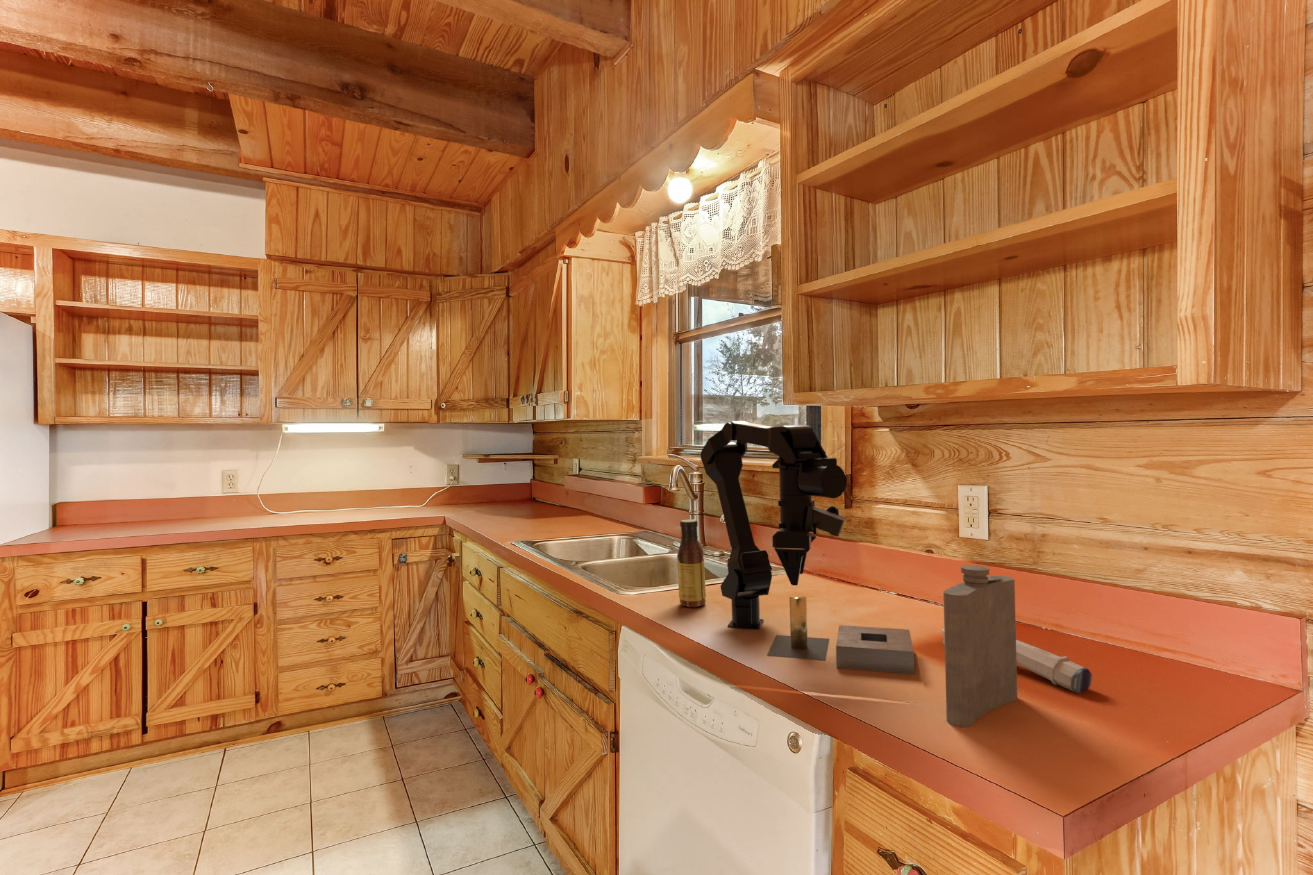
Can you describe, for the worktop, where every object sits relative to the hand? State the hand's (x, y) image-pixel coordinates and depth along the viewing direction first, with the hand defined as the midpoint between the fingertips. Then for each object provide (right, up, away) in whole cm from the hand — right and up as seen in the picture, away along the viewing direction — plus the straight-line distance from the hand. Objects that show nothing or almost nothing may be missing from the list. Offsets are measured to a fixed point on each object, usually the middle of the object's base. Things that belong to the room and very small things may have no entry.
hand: (797, 579), depth 117 cm
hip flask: (+20, -13, -27) cm, 35 cm away
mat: (0, -13, 0) cm, 13 cm away
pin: (0, -12, 0) cm, 12 cm away
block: (+12, -13, -7) cm, 18 cm away
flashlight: (+33, -12, -11) cm, 37 cm away
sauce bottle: (-17, -13, +32) cm, 39 cm away
